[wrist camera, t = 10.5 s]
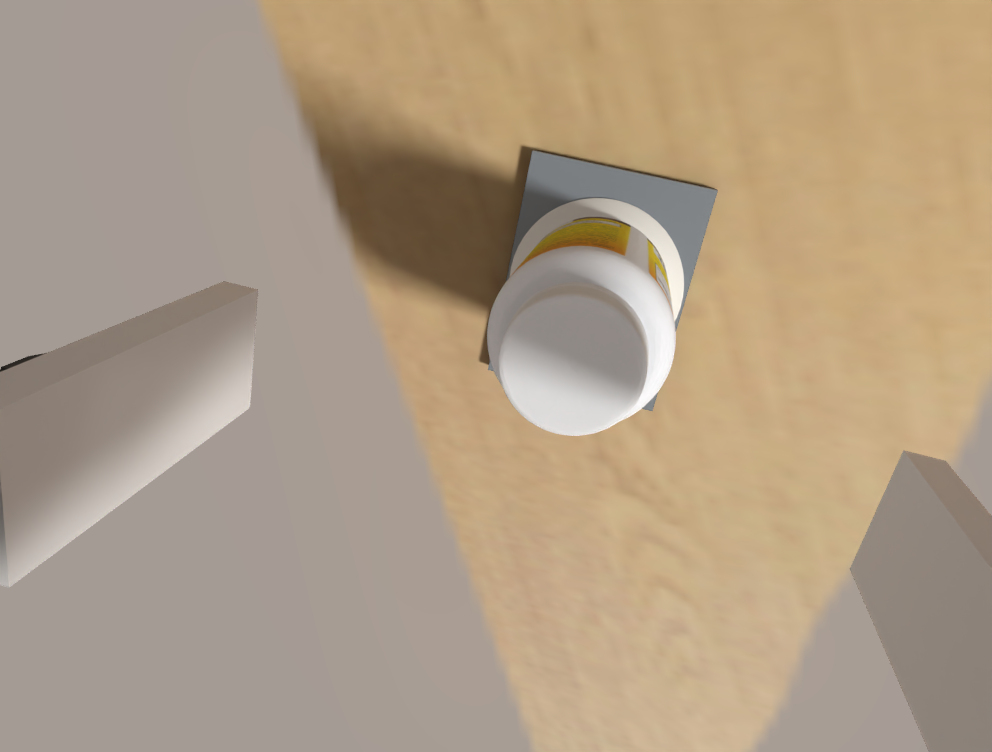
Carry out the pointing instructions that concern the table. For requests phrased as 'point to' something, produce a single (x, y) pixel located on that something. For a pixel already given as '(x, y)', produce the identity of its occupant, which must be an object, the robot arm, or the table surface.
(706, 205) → the seat plate
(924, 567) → the robot arm
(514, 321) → the supplement bottle
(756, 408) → the table surface
